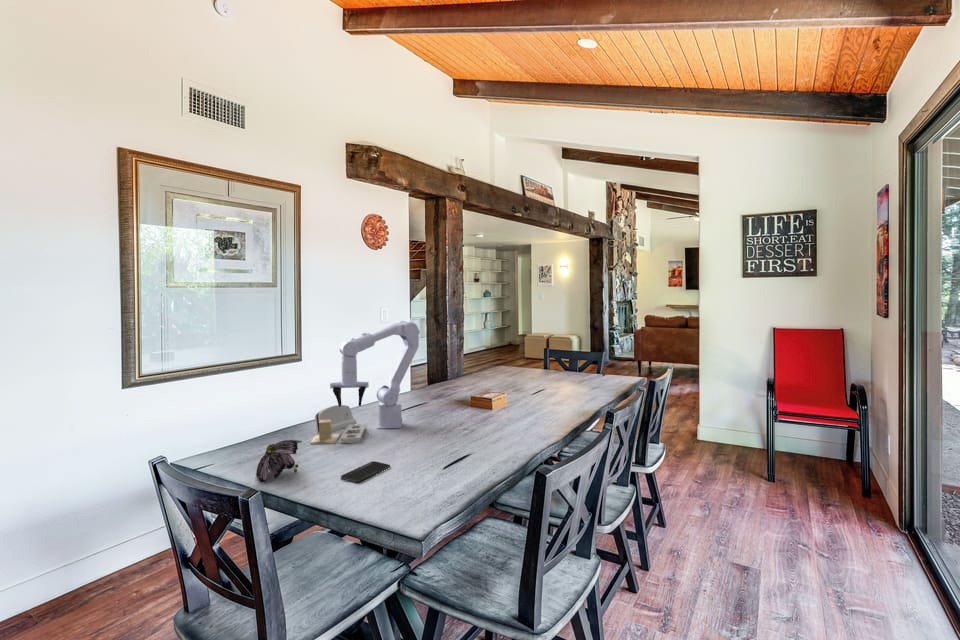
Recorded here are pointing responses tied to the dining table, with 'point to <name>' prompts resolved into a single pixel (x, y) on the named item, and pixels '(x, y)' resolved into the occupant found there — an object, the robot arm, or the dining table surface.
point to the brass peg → (325, 429)
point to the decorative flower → (277, 459)
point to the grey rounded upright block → (336, 417)
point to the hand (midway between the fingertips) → (350, 405)
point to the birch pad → (333, 440)
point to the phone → (365, 472)
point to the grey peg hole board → (353, 433)
